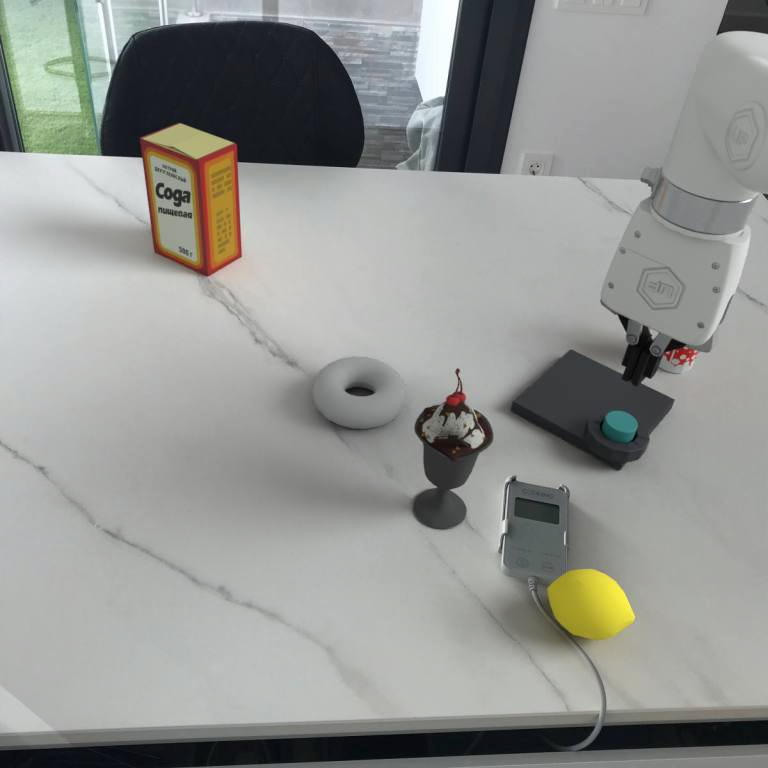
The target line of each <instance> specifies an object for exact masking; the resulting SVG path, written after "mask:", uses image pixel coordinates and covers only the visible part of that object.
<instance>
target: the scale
mask: <svg viewBox="0 0 768 768" xmlns="http://www.w3.org/2000/svg"><path fill="white" fill-rule="evenodd" d="M622 376H623V373H621V372H619V371H617V370H615V369H613V368H611V367H609V366H607V365H605V364H603V363H600V362H598V361H596V360H594V359H592V358H590V357H588V356H586V355H585V354H582V353H580V352H578V351H576V350H574V349H572V348H570V349H569V350H568V351H566V352H565V353H564V354H563V355H561V357H560V358H559V359H558V360H557V361H556V362H555V363H553V364H552V365H551V366H550V367H549V368H548V369H547V370H546V371H545V372H543V373H542V374H541V375H540V376H539V377H538V378H537V379H536V380H534V381H533V382H532V383H531V384H530V385H529V386H528V387H527V388H525V389H524V390H523V391H522V392H521V393H520V394H519V395H518V396H517V397H516V398H514V399H513V400H512V402H511V406H510V412H511V413H514V414H516V415H517V416H519V417H521V418H523V419H524V420H527V422H529V423H532V424H533V425H536V426H537V427H539V428H541V429H543V430H544V431H547V432H548V433H550V434H552V435H554V436H555V437H557V438H559V439H561V440H563V441H565V442H567V443H569V444H570V445H572V446H574V447H576V448H577V449H579V450H581V451H583V452H585V453H586V454H588V455H590V456H592V457H594V458H595V459H597V460H600V461H601V462H603V463H605V464H607V465H608V466H611V467H612V468H614V469H615V470H618V471H621V470H622V469H623V468H624V467H625V465H626V464H627V463H631V462H636V461H639V460H640V459H641V458H642V456H643V455H644V454H645V453H646V451H647V448H648V446H649V443H650V441H651V440H650V439H651V438H650V435H651V434H652V433H653V432H654V431H655V430H656V428H657V427H658V425H660V423H661V422H662V421H663V419H664V418H665V417H667V415H668V414H669V413H670V411H671V410H672V408H673V405H674V403H675V401H676V399H674V398H673V397H670V396H669V395H667V394H664V393H662V392H661V391H658V390H656V389H654V388H652V387H650V386H648V385H646V384H645V383H642V382H641V383H640V384H639V386H638V387H636V386H634V385H632V383H631V380H630V381H627V382H626V381H624V380H622ZM611 411H623V412H626V413H628V414H630V415H632V416H633V417H634V418H635V419H636V421H637V423H638V427H637V430H636V432H635V435H634V437H633V439H632V440H631V441H630V442H627V443H620V442H614V441H612V440H610V439H609V438H607V437H606V436H605V435H604V434H603V432H602V426H603V423H604V420H605V417H606V415H607V414H608V413H609V412H611Z"/></svg>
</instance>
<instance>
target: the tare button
mask: <svg viewBox="0 0 768 768" xmlns="http://www.w3.org/2000/svg"><path fill="white" fill-rule="evenodd" d="M637 427H638V423H637V421H636V419H635V418H634V417H633V416H632V415H630V414H628V413H626V412H623V411H611V412H609V413H608V414H607V415H606V417H605V420H604V423H603V426H602V432H603V434H604V435H605V436H606V437H607V438H609V439H610V440H612V441H614V442H620V443H627V442H630V441H631V440H632V439H633V437H634V435H635V432H636V430H637Z"/></svg>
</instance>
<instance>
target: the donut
mask: <svg viewBox="0 0 768 768" xmlns="http://www.w3.org/2000/svg"><path fill="white" fill-rule="evenodd" d="M353 388H363V389H368V390H369V391H372V392H373V393H372V394H370V395H366V396H365V395H363V396H361V395H358V396H357V395H354V394H350V393H348V392H347V390H349V389H353ZM311 392H312V394H311V396H312V399H313V402H314V404H315V407H316V409H317V410H318V412H320V413H321V415H322V416H324V417H325V418H326V419H327V420H328V421H330V422H332V423H334V424H336V425H338V426H341V427H345V428H349V429H353V430H368V429H373V428H378V427H382V426H384V425H386V424H388V423H390V422H392V421H394V419H395V418H396V417H398V416H399V414H401V412H402V411H403V409H404V407H405V405H406V402H407V399H408V396H407V385H406V383H405V381H404V379H403V377H402V376H401V374H400V372H398V371H397V369H395V368H393V367H392V365H390V364H388V363H386V362H384V361H382V360H380V359H378V358H373V357H368V356H347V357H340V358H339V359H336V360H334V361H332V362H329V363H328V364H326V365H325V366H324V367H323V368H321V369H320V370H319V372H318V373H317V375H316V376H315V378H314V380H313V383H312V391H311Z"/></svg>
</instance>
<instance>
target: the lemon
mask: <svg viewBox="0 0 768 768" xmlns="http://www.w3.org/2000/svg"><path fill="white" fill-rule="evenodd" d="M547 597H548V601H549V605H550V608H551V611H552V614H553V617H554V618H555V619H556V621H557V622H558V623H559V625H560V626H561V627H563V629H565V630H566V631H568V632H569V633H570V634H572V635H573V636H576V637H580V638H586V639H588V640H593V641H598V642H599V641H603V640H608V639H611V638H613V637H615V636H616V635H618V634H619V633H620V632H622V631H623V630H625V629H626V628H627V627H629V626H630V625H631V624H633V623H634V622H635V619H636V616H635V613H634V611H633V609H632V606H631V604H630V602H629V600H628V597H627V595H626V593H625V591H624V590H623V589H622V587H621V586H620V585H619V584H618V582H617V581H616V580H614V579H613V578H612V577H611V576H609V575H608V574H606V573H603V572H601V571H599V570H597V569H594V568H580V569H571V570H568V571H566V572H564V573H563V574H562V575H560V576H559V577H558V578H557V579H555V580H554V581H553V582H551V583H550V585H548V586H547Z"/></svg>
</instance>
